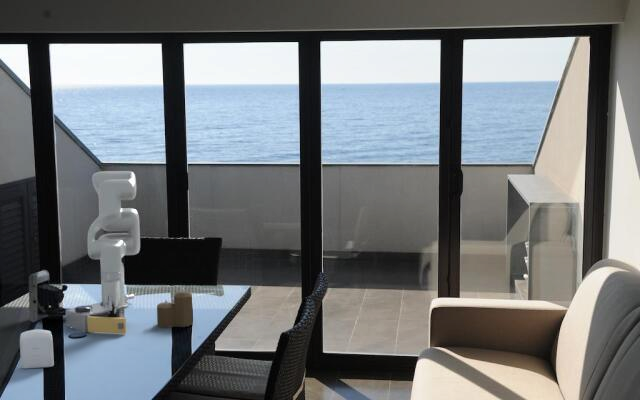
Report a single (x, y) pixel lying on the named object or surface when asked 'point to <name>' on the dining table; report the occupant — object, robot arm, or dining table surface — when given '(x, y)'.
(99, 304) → the aluminium camera mock-up
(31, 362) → the photo printer
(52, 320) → the dining table surface
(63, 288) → the vintage camera
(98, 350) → the dining table surface
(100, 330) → the ochre side door
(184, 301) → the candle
